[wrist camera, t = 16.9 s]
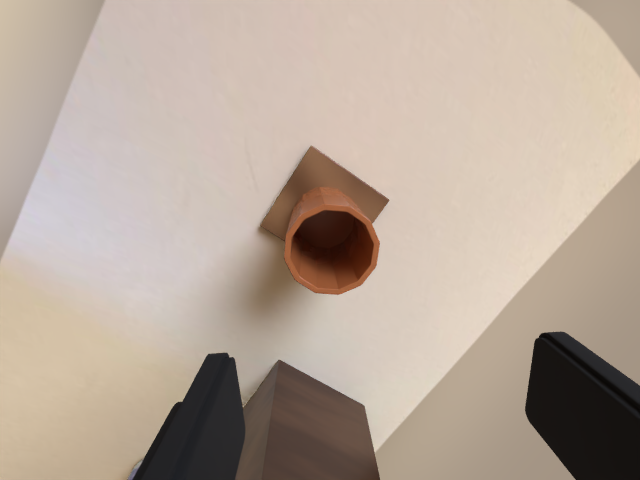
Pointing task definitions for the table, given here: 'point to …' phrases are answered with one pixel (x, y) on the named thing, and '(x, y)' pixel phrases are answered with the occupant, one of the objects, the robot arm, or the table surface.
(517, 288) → the table surface
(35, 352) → the table surface
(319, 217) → the small pot
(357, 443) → the big pot
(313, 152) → the cork mat
